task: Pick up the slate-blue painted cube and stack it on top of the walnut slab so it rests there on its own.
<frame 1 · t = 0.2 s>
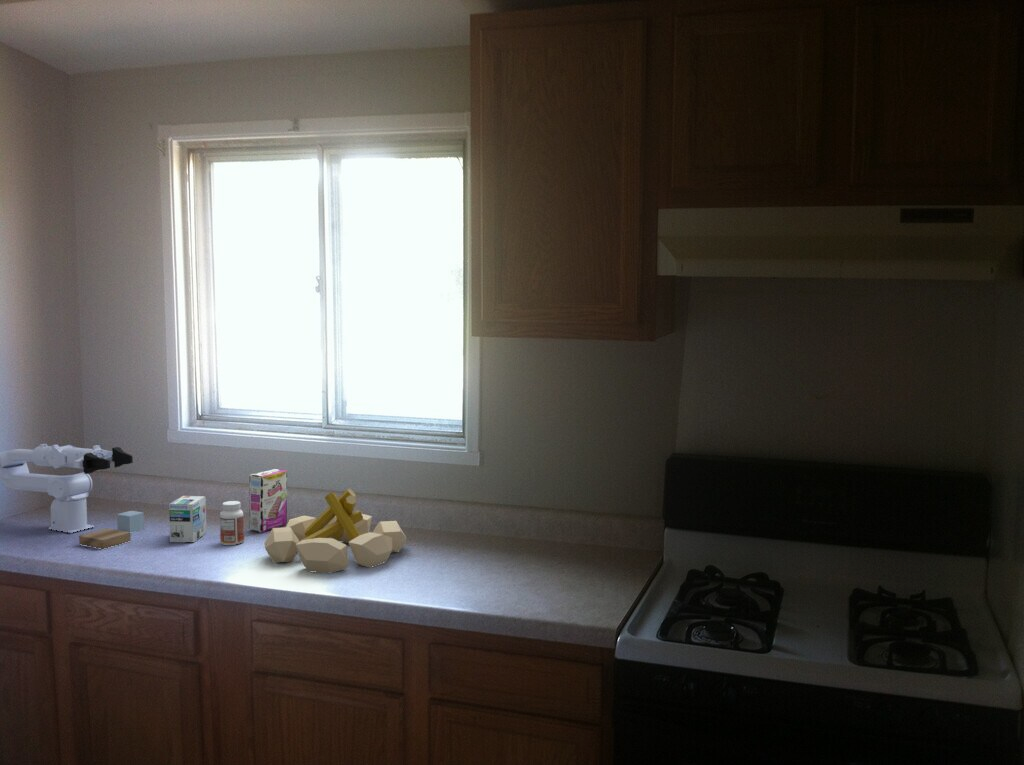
hand: (120, 461, 257), 21 cm above the worktop, tool horizontal, fingers open, 7 cm apart
walnut slab: (105, 545, 253), on the worktop
light bulb box: (188, 538, 260), on the worktop
slate cube: (130, 530, 267), on the worktop
candy bar box: (268, 528, 272), on the worktop
pill bottle: (232, 543, 256), on the worktop
campfire: (336, 555, 246), on the worktop
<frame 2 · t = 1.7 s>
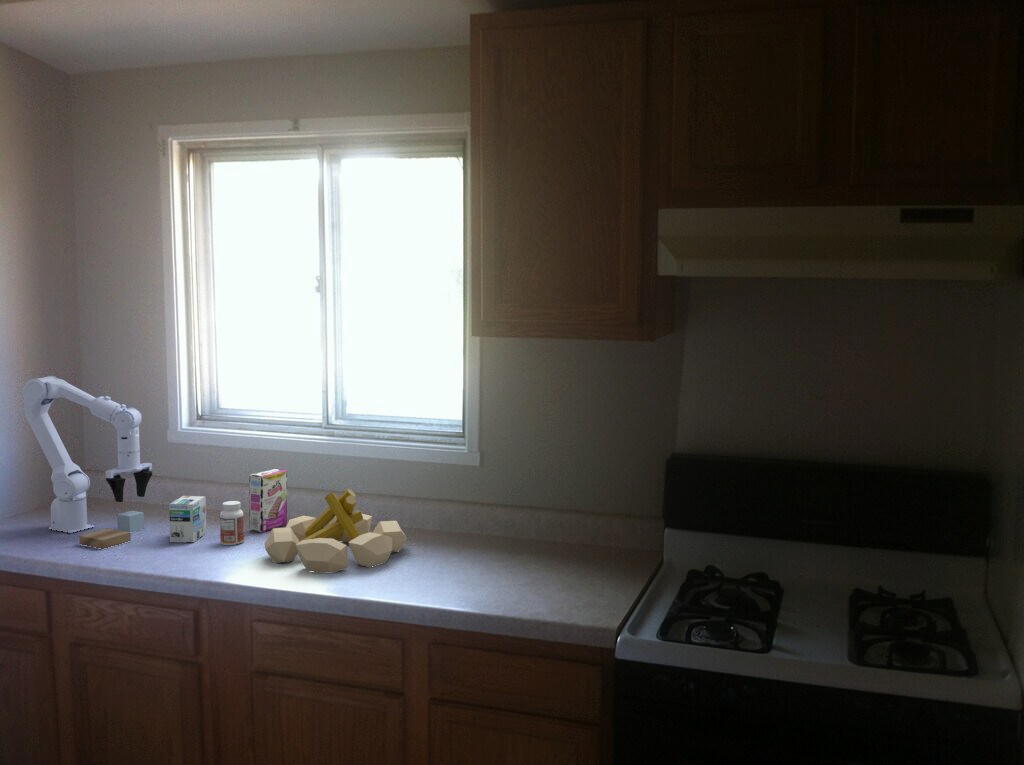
hand: (130, 499, 266), 9 cm above the worktop, tool pointing down, fingers open, 7 cm apart
nothing on the worktop moved.
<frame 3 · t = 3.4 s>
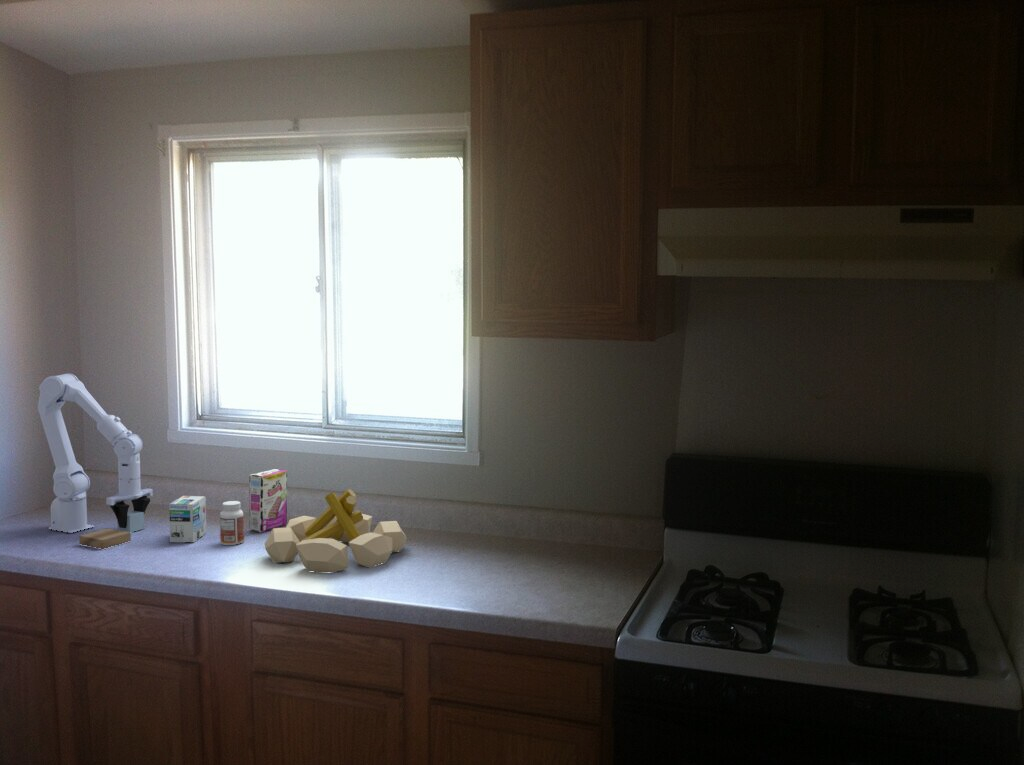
hand: (130, 525, 267), 1 cm above the worktop, tool pointing down, fingers closed on slate cube, 5 cm apart
slate cube: (131, 530, 267), on the worktop, touching gripper
everything else where it was.
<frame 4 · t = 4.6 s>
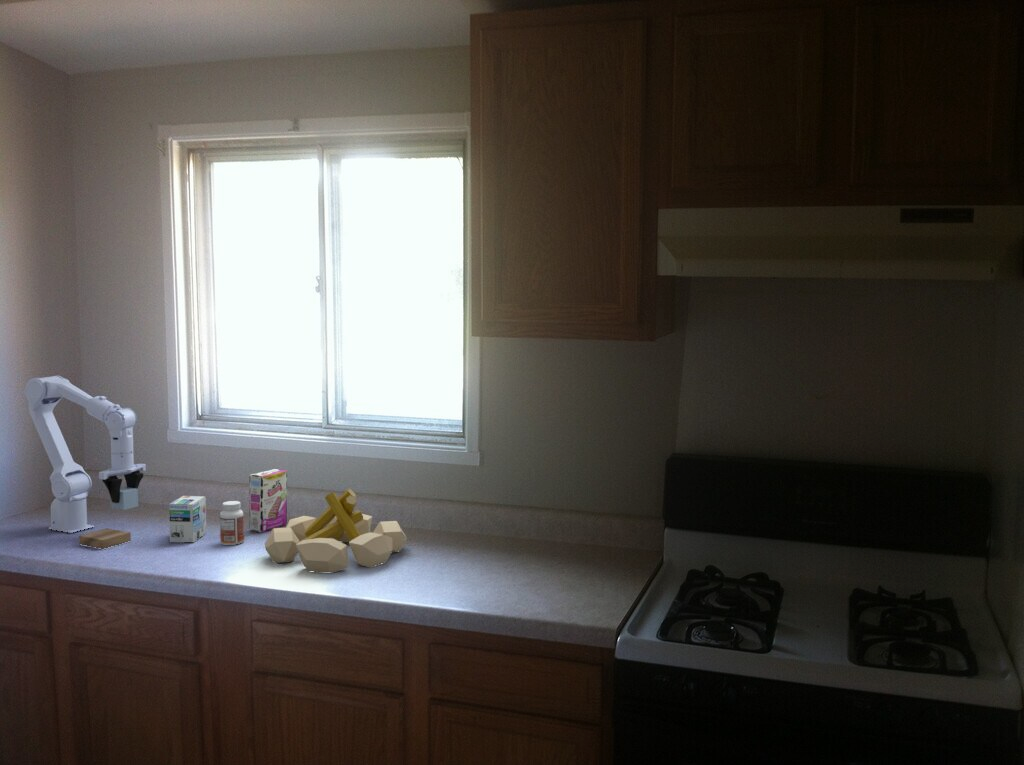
hand: (123, 500, 262), 9 cm above the worktop, tool pointing down, fingers closed on slate cube, 5 cm apart
slate cube: (124, 507, 263), point 8 cm above the worktop, touching gripper
everything else where it was.
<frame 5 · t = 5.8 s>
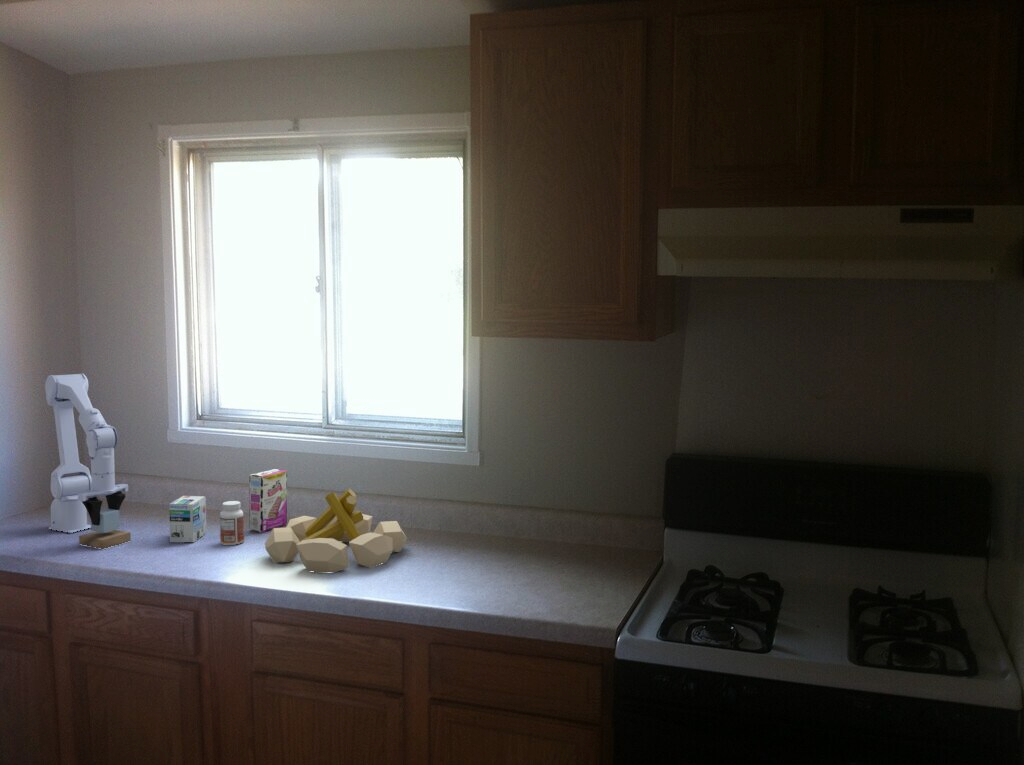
hand: (104, 522, 253), 6 cm above the worktop, tool pointing down, fingers closed on slate cube, 5 cm apart
slate cube: (105, 529, 253), point 4 cm above the worktop, touching gripper
everything else where it was.
when the fingers open (6 cm above the worktop, at t = 6.7 s): slate cube drops 1 cm, resting on walnut slab.
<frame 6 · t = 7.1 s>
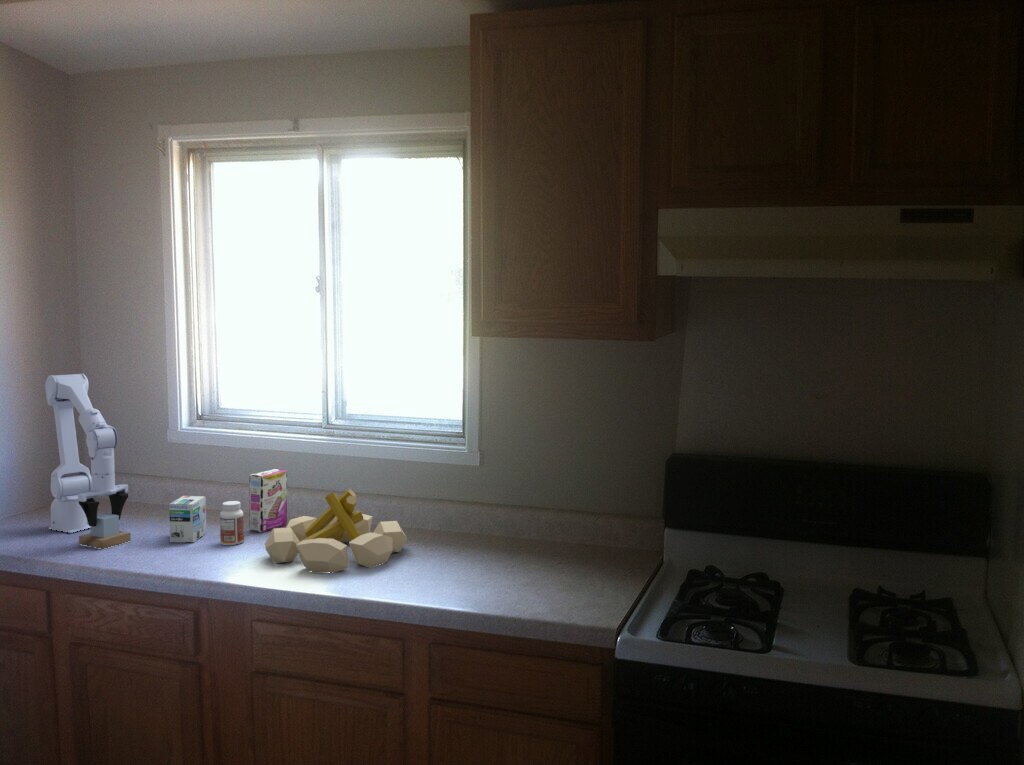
hand: (104, 522, 253), 6 cm above the worktop, tool pointing down, fingers open, 7 cm apart
walnut slab: (105, 545, 253), on the worktop, touching slate cube
slate cube: (105, 534, 253), point 2 cm above the worktop, touching walnut slab
everything else where it was.
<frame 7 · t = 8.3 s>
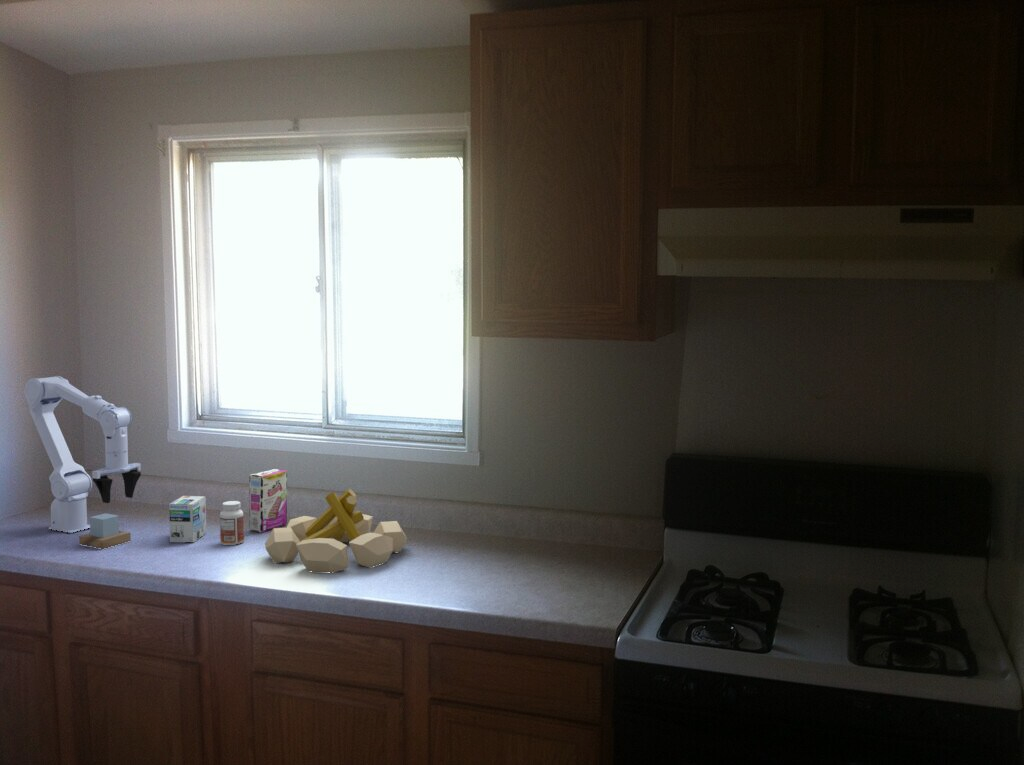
hand: (117, 499, 261), 10 cm above the worktop, tool pointing down, fingers open, 7 cm apart
nothing on the worktop moved.
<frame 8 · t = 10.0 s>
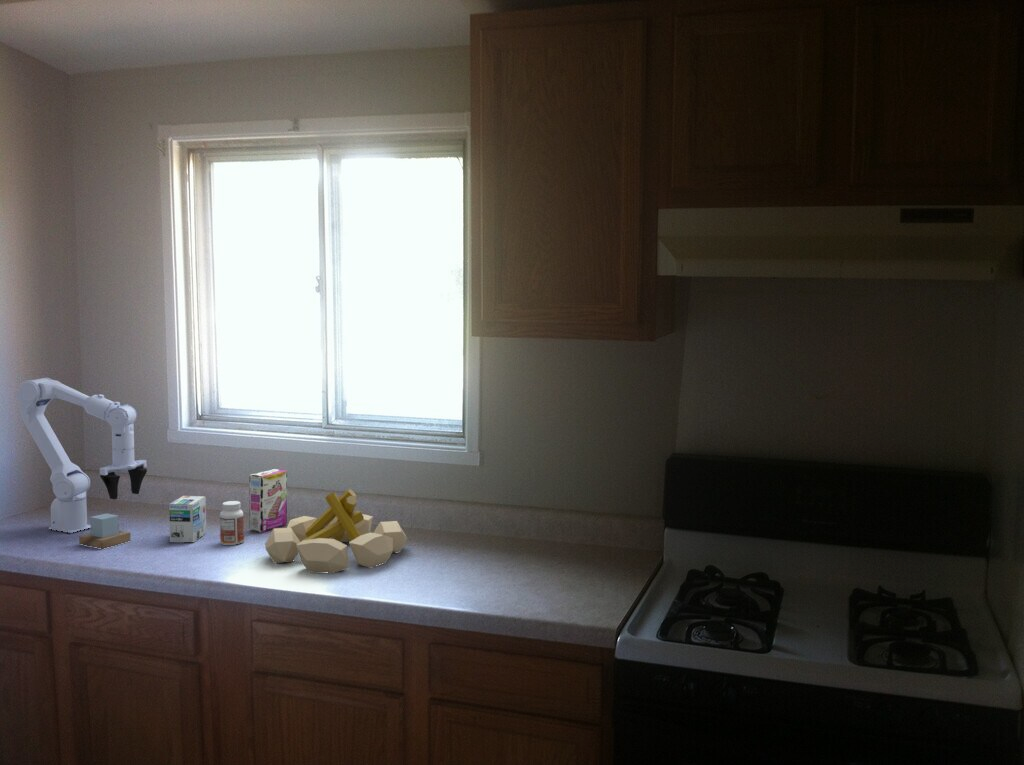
hand: (124, 496, 266), 10 cm above the worktop, tool pointing down, fingers open, 7 cm apart
nothing on the worktop moved.
at the end: slate cube inside the target area on the walnut slab (0.5 cm from its centre), point 3.0 cm above the walnut slab's base; slate cube tilted 0°; the gripper is holding nothing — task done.
